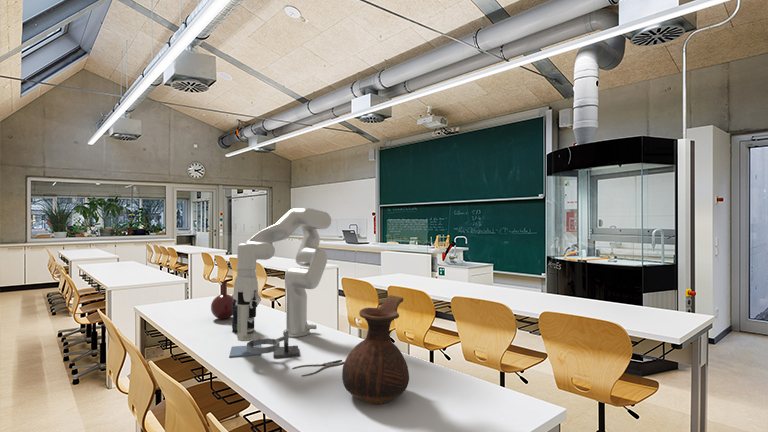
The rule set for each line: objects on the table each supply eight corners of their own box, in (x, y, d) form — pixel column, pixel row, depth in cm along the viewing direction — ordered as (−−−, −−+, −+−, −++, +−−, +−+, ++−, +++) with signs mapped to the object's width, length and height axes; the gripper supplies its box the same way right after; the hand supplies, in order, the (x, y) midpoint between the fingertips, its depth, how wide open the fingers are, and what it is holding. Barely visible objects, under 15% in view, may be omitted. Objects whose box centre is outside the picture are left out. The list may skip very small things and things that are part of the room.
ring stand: (297, 348, 176) (297, 327, 176) (301, 364, 157) (301, 341, 157) (248, 352, 171) (248, 330, 171) (245, 369, 152) (246, 345, 152)
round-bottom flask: (231, 322, 217) (231, 284, 217) (206, 321, 217) (206, 283, 217) (240, 315, 230) (240, 280, 230) (216, 315, 230) (217, 279, 230)
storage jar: (249, 333, 197) (249, 302, 196) (228, 333, 197) (228, 302, 197) (256, 328, 206) (256, 298, 206) (236, 327, 207) (236, 297, 207)
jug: (420, 406, 125) (421, 306, 125) (350, 415, 119) (351, 310, 118) (397, 378, 146) (398, 293, 145) (336, 384, 139) (337, 296, 139)
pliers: (288, 368, 152) (330, 355, 167) (288, 371, 152) (330, 357, 167) (303, 376, 145) (346, 361, 160) (303, 378, 145) (346, 363, 160)
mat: (261, 345, 179) (261, 344, 179) (260, 355, 168) (260, 353, 168) (231, 348, 176) (231, 346, 176) (229, 357, 164) (229, 356, 164)
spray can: (248, 342, 168) (249, 292, 167) (233, 341, 169) (234, 292, 169) (257, 337, 174) (257, 290, 174) (242, 336, 175) (243, 289, 175)
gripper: (224, 272, 172) (224, 315, 172) (254, 276, 164) (254, 321, 164) (239, 270, 179) (238, 311, 179) (268, 273, 170) (268, 317, 171)
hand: (246, 315), depth 171 cm, fingers closed on spray can, 6 cm apart
